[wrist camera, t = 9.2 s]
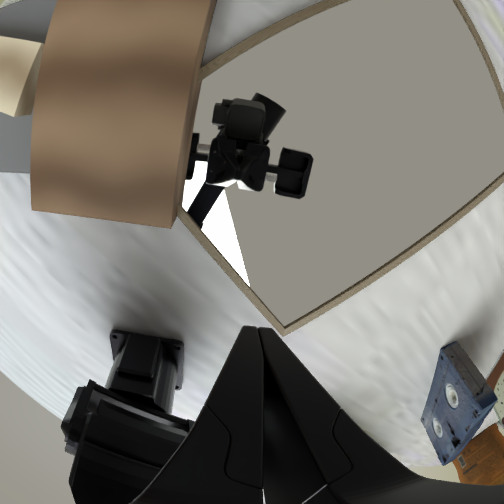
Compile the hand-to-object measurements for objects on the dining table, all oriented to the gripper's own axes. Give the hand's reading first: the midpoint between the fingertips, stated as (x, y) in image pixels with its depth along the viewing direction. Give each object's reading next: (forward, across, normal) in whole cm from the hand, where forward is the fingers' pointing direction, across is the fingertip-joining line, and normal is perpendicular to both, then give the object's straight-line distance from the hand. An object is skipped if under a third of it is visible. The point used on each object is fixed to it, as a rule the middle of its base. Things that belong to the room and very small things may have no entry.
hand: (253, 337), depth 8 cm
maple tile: (+11, +19, -9) cm, 24 cm away
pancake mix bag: (+12, -71, +49) cm, 87 cm away
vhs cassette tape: (+12, -30, +19) cm, 38 cm away
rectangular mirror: (+13, -8, -7) cm, 17 cm away
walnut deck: (+12, +9, -7) cm, 17 cm away
